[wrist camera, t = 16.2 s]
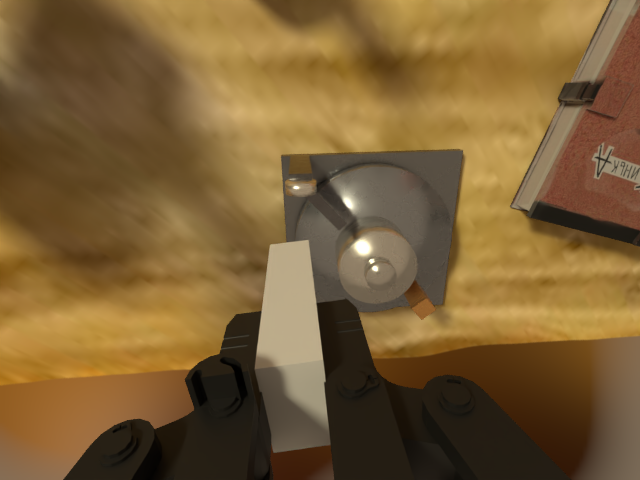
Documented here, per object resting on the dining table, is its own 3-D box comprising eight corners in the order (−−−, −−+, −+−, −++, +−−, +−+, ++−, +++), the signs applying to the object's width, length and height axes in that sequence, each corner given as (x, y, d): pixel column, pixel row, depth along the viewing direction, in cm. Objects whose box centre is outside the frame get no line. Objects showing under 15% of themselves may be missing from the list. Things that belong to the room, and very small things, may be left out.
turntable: (262, 233, 41) (257, 255, 36) (386, 127, 37) (402, 134, 32) (357, 327, 47) (365, 358, 41) (472, 244, 43) (498, 266, 38)
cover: (372, 291, 43) (383, 324, 37) (320, 255, 40) (323, 284, 34) (418, 243, 40) (439, 270, 34) (367, 202, 38) (379, 224, 32)
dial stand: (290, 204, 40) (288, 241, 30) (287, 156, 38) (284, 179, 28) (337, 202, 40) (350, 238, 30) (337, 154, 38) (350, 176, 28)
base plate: (291, 308, 47) (291, 312, 46) (281, 154, 39) (281, 156, 38) (439, 300, 48) (442, 304, 47) (459, 149, 40) (463, 150, 39)
